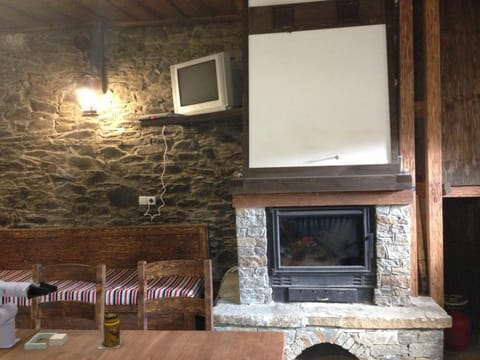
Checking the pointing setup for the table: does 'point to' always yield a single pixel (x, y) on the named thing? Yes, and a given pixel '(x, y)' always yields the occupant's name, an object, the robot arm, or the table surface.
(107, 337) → the condiment
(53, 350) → the table surface
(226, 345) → the table surface
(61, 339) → the cream square block
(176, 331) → the table surface
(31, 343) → the box
